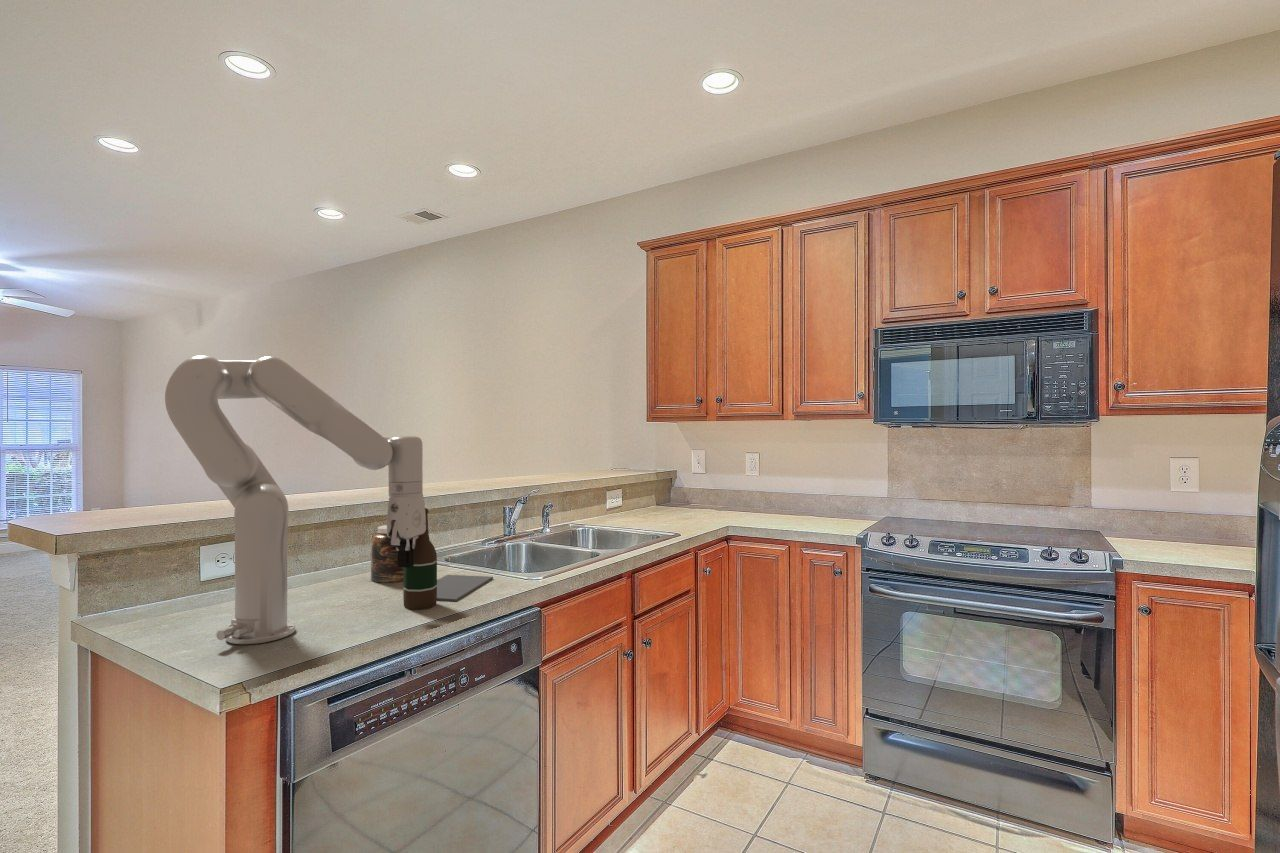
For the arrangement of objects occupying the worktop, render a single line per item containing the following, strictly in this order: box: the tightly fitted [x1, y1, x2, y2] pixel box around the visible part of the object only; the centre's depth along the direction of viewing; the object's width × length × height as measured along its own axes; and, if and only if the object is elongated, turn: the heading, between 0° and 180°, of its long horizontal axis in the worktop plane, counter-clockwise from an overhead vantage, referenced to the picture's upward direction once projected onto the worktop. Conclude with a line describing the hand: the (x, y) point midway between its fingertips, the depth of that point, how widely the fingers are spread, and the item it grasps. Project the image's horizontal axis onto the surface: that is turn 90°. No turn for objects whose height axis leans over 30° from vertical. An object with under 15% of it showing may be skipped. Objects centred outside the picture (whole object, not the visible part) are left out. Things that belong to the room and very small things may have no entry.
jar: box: [370, 524, 404, 584], centre depth 183 cm, size 12×12×15 cm
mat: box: [436, 574, 494, 602], centre depth 172 cm, size 24×14×1 cm, turn 171°
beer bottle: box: [402, 507, 438, 611], centre depth 155 cm, size 8×8×24 cm
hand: (405, 566), depth 148 cm, fingers closed
